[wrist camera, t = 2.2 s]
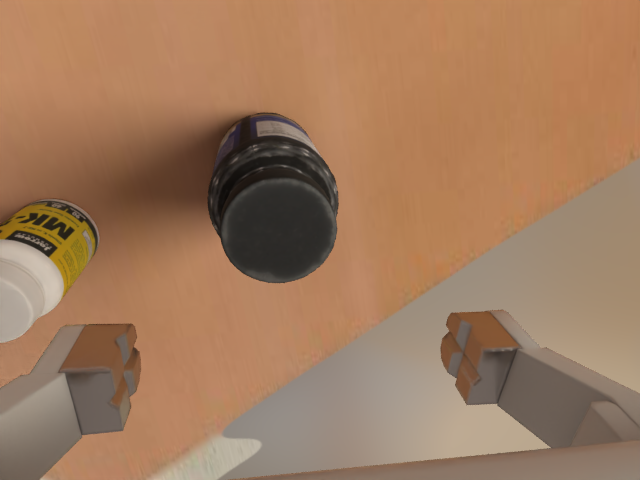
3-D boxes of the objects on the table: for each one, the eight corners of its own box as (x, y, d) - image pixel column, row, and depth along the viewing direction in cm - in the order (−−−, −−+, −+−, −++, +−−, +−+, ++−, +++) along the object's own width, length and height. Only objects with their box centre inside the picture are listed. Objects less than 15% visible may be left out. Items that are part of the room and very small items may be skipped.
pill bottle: (250, 220, 27) (250, 321, 18) (197, 140, 25) (164, 209, 15) (330, 177, 27) (377, 257, 17) (286, 91, 24) (313, 128, 14)
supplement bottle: (100, 202, 25) (38, 271, 18) (102, 267, 27) (47, 353, 20) (12, 191, 24) (-91, 260, 17) (21, 260, 26) (-69, 348, 19)
